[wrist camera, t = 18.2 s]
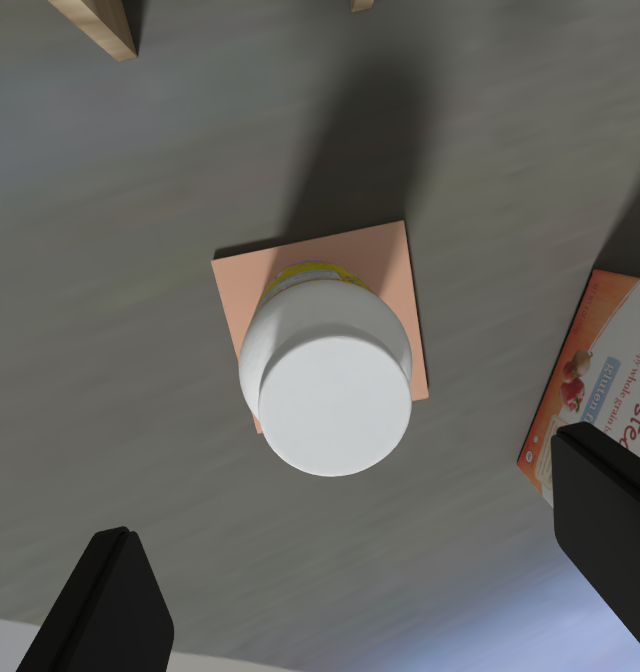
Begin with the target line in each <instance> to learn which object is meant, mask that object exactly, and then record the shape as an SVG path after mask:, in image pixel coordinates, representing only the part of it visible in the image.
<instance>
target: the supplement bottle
mask: <svg viewBox="0 0 640 672" xmlns="http://www.w3.org/2000/svg"><path fill="white" fill-rule="evenodd" d="M239 377H240V383H241V388H242V391H243V394H244V397H245V400H246V402H247V404H248V406H249V408H250V409H251V411H252V412H253V414H254V415H255V417H256V418H257V419H258V420H259V421H260V425H261V429H262V431H263V433H264V435H265V438H266V440H267V441H268V443H269V445H270V446H271V447H272V449H273V450H274V451H275V452H276V453H277V454H278V455H279V456H280V457H281V458H282V459H283V460H284V461H286V462H287V463H289V464H290V465H292V466H293V467H295V468H297V469H300V470H302V471H305V472H307V473H310V474H315V475H321V476H343V475H349V474H353V473H356V472H359V471H362V470H364V469H367V468H369V467H370V466H372V465H374V464H376V463H377V462H379V461H380V460H382V459H383V458H384V457H385V456H387V455H388V454H389V453H390V452H391V451H392V450H393V449H394V448H395V446H396V445H397V444H398V442H399V441H400V439H401V438H402V436H403V434H404V432H405V430H406V428H407V425H408V422H409V419H410V414H411V404H412V400H411V391H410V382H411V377H412V351H411V346H410V342H409V339H408V336H407V334H406V331H405V329H404V327H403V325H402V323H401V321H400V320H399V319H398V317H397V316H396V314H395V313H394V312H393V311H392V310H391V309H390V307H389V306H388V305H387V304H386V303H385V302H384V301H382V300H381V299H380V298H379V297H378V296H377V295H376V294H375V293H374V292H373V291H372V290H371V289H369V287H367V286H366V285H365V284H364V283H363V282H362V281H361V280H360V279H359V278H358V277H357V276H356V275H354V274H353V273H352V272H350V271H349V270H348V269H346V268H344V267H342V266H340V265H338V264H336V263H333V262H329V261H324V260H307V261H302V262H298V263H295V264H293V265H290V266H288V267H286V268H285V269H283V270H281V271H280V272H279V273H278V274H276V275H275V276H274V277H273V278H272V279H271V281H270V282H269V283H268V284H267V286H266V287H265V289H264V291H263V292H262V294H261V296H260V299H259V301H258V304H257V307H256V309H255V312H254V314H253V317H252V320H251V322H250V325H249V327H248V329H247V331H246V334H245V337H244V340H243V343H242V347H241V351H240V357H239Z"/></svg>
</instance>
